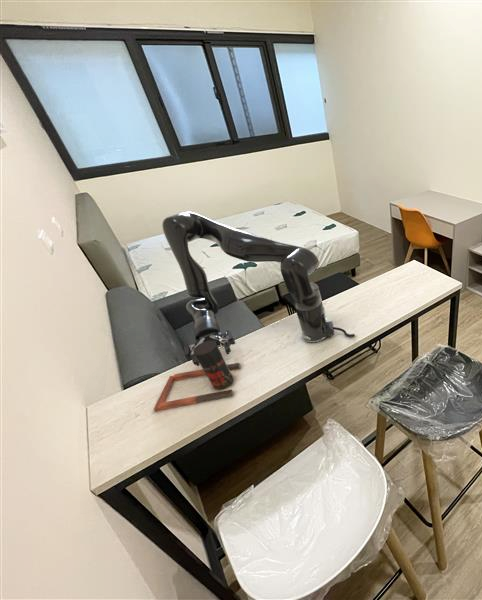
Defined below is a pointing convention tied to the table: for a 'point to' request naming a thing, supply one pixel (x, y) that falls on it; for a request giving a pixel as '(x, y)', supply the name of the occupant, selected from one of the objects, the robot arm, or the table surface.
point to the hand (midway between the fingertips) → (212, 357)
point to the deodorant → (213, 365)
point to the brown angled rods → (191, 400)
